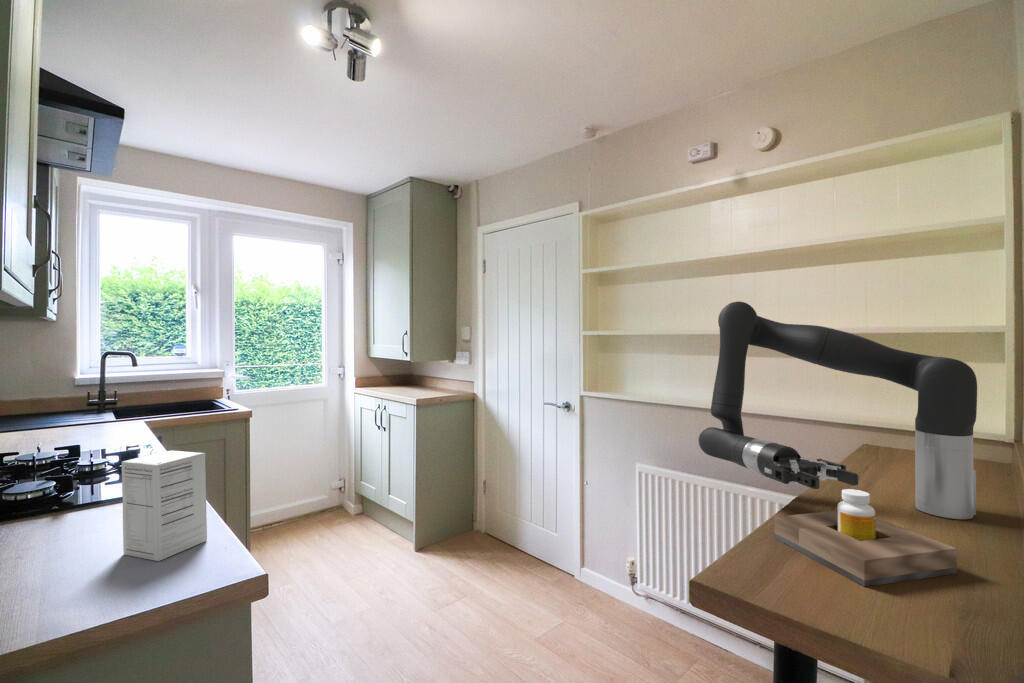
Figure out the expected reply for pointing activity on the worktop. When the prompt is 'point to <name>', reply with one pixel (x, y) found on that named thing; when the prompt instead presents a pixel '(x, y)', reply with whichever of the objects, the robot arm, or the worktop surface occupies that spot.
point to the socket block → (866, 549)
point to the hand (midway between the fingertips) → (837, 481)
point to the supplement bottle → (856, 515)
